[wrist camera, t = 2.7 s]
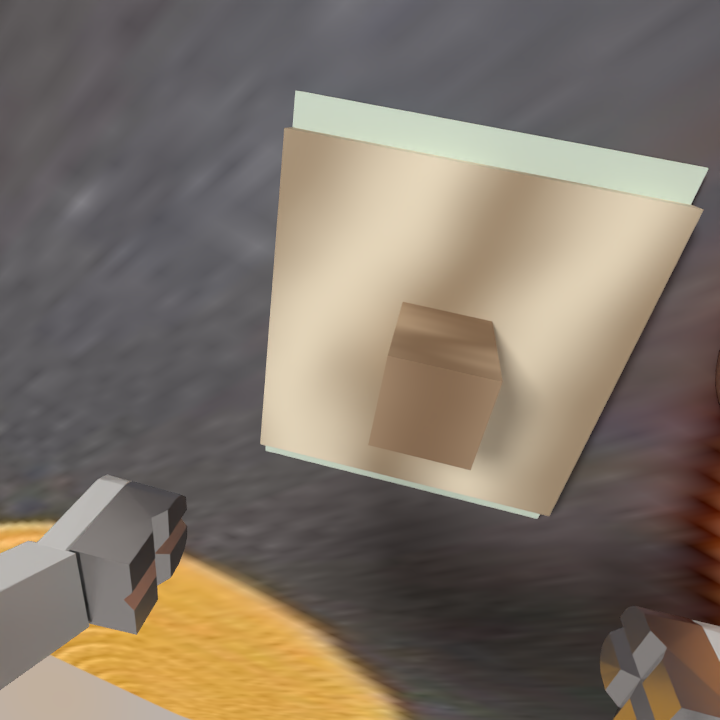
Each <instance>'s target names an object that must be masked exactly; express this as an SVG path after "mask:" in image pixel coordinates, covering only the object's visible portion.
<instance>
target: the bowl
mask: <svg viewBox="0 0 720 720" xmlns="http://www.w3.org/2000/svg"><path fill="white" fill-rule="evenodd" d="M716 390H717V396H718V402H719V404H720V351H719V356H718V361H717V366H716Z"/></svg>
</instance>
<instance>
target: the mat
mask: <svg viewBox="0 0 720 720" xmlns="http://www.w3.org/2000/svg"><path fill="white" fill-rule="evenodd" d="M293 127H294V128H299V129H304V130H309V131H314V132H320V133H325V134H330V135H335V136H340V137H345V138H350V139H356V140H361V141H366V142H371V143H376V144H381V145H386V146H392V147H397V148H402V149H407V150H412V151H417V152H422V153H428V154H433V155H438V156H443V157H448V158H453V159H458V160H464V161H469V162H474V163H479V164H484V165H489V166H494V167H500V168H505V169H510V170H515V171H520V172H525V173H530V174H536V175H541V176H546V177H551V178H556V179H561V180H566V181H572V182H577V183H582V184H587V185H592V186H597V187H603V188H608V189H613V190H618V191H623V192H628V193H633V194H639V195H644V196H649V197H654V198H659V199H664V200H669V201H675V202H680V203H685V204H690V205H691V204H692V202H693V199H694V197H695V195H696V193H697V191H698V189H699V187H700V185H701V183H702V181H703V179H704V177H705V175H706V173H707V171H708V169H709V168H706V167H701V166H696V165H690V164H685V163H680V162H675V161H669V160H664V159H659V158H653V157H648V156H643V155H637V154H632V153H627V152H621V151H616V150H611V149H605V148H600V147H595V146H589V145H584V144H579V143H573V142H568V141H563V140H557V139H552V138H547V137H541V136H536V135H531V134H525V133H520V132H515V131H510V130H504V129H499V128H494V127H488V126H483V125H478V124H472V123H467V122H462V121H456V120H451V119H446V118H440V117H435V116H430V115H424V114H419V113H414V112H408V111H403V110H398V109H392V108H387V107H382V106H376V105H371V104H366V103H360V102H355V101H350V100H344V99H339V98H334V97H329V96H323V95H318V94H313V93H307V92H302V91H296V93H295V104H294V116H293ZM266 451H269V452H273V453H277V454H281V455H285V456H289V457H293V458H297V459H301V460H305V461H309V462H313V463H317V464H321V465H325V466H329V467H333V468H337V469H341V470H345V471H349V472H353V473H357V474H361V475H365V476H369V477H373V478H377V479H381V480H385V481H389V482H393V483H397V484H401V485H405V486H409V487H412V488H416V489H420V490H424V491H428V492H432V493H436V494H440V495H444V496H448V497H452V498H456V499H460V500H464V501H468V502H472V503H476V504H480V505H484V506H488V507H492V508H496V509H500V510H504V511H508V512H512V513H516V514H520V515H524V516H528V517H532V518H536V519H538V517H539V515H540V514H538V513H534V512H530V511H526V510H522V509H518V508H514V507H510V506H506V505H502V504H498V503H494V502H490V501H486V500H482V499H478V498H474V497H470V496H466V495H462V494H458V493H454V492H450V491H446V490H442V489H438V488H434V487H430V486H426V485H422V484H418V483H414V482H410V481H406V480H402V479H398V478H394V477H390V476H386V475H382V474H378V473H374V472H370V471H366V470H362V469H358V468H354V467H350V466H346V465H342V464H338V463H334V462H330V461H326V460H322V459H318V458H314V457H310V456H306V455H302V454H298V453H294V452H290V451H286V450H282V449H278V448H274V447H270V446H266Z"/></svg>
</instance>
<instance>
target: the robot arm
mask: <svg viewBox="0 0 720 720" xmlns="http://www.w3.org/2000/svg"><path fill="white" fill-rule="evenodd" d="M186 510H187V505H186V497H185V496H183V495H180V494H177V493H173V492H170V491H166V490H162V489H159V488H155V487H151V486H148V485H144V484H141V483H137V482H133V481H129V480H125V479H121V478H117V477H114V476H110V475H106V476H104V477H102V478H100V479H98V480H97V481H96V482H95V483H94V484H93V485H92V486H91V487H90V488H89V489H88V490H87V491H86V492H85V493H84V494H83V495H82V496H81V497H80V498H79V499H78V500H77V501H76V502H75V504H74V505H73V506H72V507H71V508H70V509H69V510H68V511H67V512H66V513H65V514H64V515H63V516H62V517H61V518H60V519H59V520H58V521H57V522H56V523H55V524H54V525H53V526H52V527H51V529H50V530H49V531H48V532H47V533H46V534H45V535H44V536H43V537H42V538H41V539H40V540H39V541H38V542H37V543H36V542H32V541H27V542H25V543H23V544H20V545H18V546H16V547H14V548H11V549H9V550H7V551H5V552H2V553H0V690H1V689H2V688H4V687H5V686H6V685H8V684H9V683H11V682H12V681H14V680H15V679H16V678H18V677H19V676H21V675H22V674H23V673H25V672H26V671H27V670H29V669H30V668H32V667H33V666H35V665H36V664H37V663H39V662H40V661H42V660H43V659H44V658H46V657H47V656H49V655H50V654H51V653H53V652H54V651H56V650H57V649H58V648H60V647H61V646H63V645H64V644H65V643H67V642H68V641H70V640H71V639H72V638H74V637H75V636H77V635H78V634H80V633H81V632H82V631H84V630H85V629H87V628H88V627H89V623H90V624H94V625H98V626H102V627H107V628H111V629H115V630H119V631H124V632H128V633H132V634H136V635H137V633H138V632H139V630H140V628H141V627H142V625H143V623H144V622H145V620H146V618H147V617H148V615H149V613H150V612H151V610H152V608H153V607H154V605H155V603H156V602H157V600H158V594H157V585H159V584H161V583H162V582H164V581H166V580H168V579H169V578H171V576H172V575H173V573H174V571H175V569H176V568H177V566H178V564H179V562H180V559H181V557H182V554H183V551H184V549H185V545H186V539H187V526H186V524H185V523H184V522H183V520H182V519H181V518H182V516H183V515H184V513H185V512H186ZM620 619H621V622H622V625H623V627H622V628H620V629H617V630H615V631H612V632H610V633H609V634H608V635H607V637H606V639H605V640H604V642H603V644H602V648H601V655H600V669H601V676H602V680H603V684H604V688H605V691H606V692H607V693H608V694H609V696H610V697H611V698H612V699H613V701H614V702H615V703H616V705H617V706H618V709H617V711H616V714H615V716H614V719H613V720H720V626H716V625H712V624H708V623H704V622H700V621H695V620H691V619H689V618H685V617H681V616H676V615H672V614H668V613H663V612H659V611H655V610H651V609H646V608H642V607H638V606H632V607H629V608H627V609H626V610H625V611H624V612H623V614H622V615H621V617H620Z"/></svg>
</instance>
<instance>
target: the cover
mask: <svg viewBox="0 0 720 720" xmlns="http://www.w3.org/2000/svg"><path fill="white" fill-rule="evenodd" d="M702 212H703V209H701V208H698V207H696V206H693V205H690V204H685V203H680V202H675V201H669V200H664V199H659V198H654V197H649V196H644V195H639V194H633V193H628V192H623V191H618V190H613V189H608V188H603V187H597V186H592V185H587V184H582V183H577V182H572V181H566V180H561V179H556V178H551V177H546V176H541V175H536V174H530V173H525V172H520V171H515V170H510V169H505V168H500V167H494V166H489V165H484V164H479V163H474V162H469V161H464V160H458V159H453V158H448V157H443V156H438V155H433V154H428V153H422V152H417V151H412V150H407V149H402V148H397V147H392V146H386V145H381V144H376V143H371V142H366V141H361V140H356V139H350V138H345V137H340V136H335V135H330V134H325V133H320V132H314V131H309V130H304V129H299V128H294V127H290V128H284V140H283V153H282V167H281V180H280V193H279V206H278V219H277V232H276V245H275V258H274V272H273V285H272V298H271V311H270V324H269V337H268V350H267V364H266V377H265V390H264V403H263V416H262V429H261V442H260V444H262V445H266V446H270V447H274V448H278V449H282V450H286V451H290V452H294V453H298V454H302V455H306V456H310V457H314V458H318V459H322V460H326V461H330V462H334V463H338V464H342V465H346V466H350V467H354V468H358V469H362V470H366V471H370V472H374V473H378V474H382V475H386V476H390V477H394V478H398V479H402V480H406V481H410V482H414V483H418V484H422V485H426V486H430V487H434V488H438V489H442V490H446V491H450V492H454V493H458V494H462V495H466V496H470V497H474V498H478V499H482V500H486V501H490V502H494V503H498V504H502V505H506V506H510V507H514V508H518V509H522V510H526V511H530V512H534V513H538V514H542V515H546V516H550V514H551V512H552V510H553V508H554V506H555V504H556V502H557V500H558V498H559V496H560V494H561V492H562V490H563V488H564V486H565V484H566V482H567V480H568V478H569V476H570V474H571V472H572V470H573V468H574V466H575V464H576V462H577V460H578V458H579V456H580V454H581V452H582V450H583V448H584V446H585V444H586V442H587V440H588V438H589V436H590V434H591V432H592V430H593V428H594V426H595V424H596V422H597V420H598V418H599V416H600V414H601V412H602V410H603V408H604V406H605V404H606V403H607V401H608V399H609V397H610V395H611V393H612V391H613V389H614V387H615V385H616V383H617V381H618V379H619V377H620V375H621V373H622V371H623V369H624V367H625V365H626V363H627V361H628V359H629V357H630V355H631V353H632V351H633V349H634V347H635V345H636V343H637V341H638V339H639V337H640V335H641V333H642V331H643V329H644V327H645V325H646V323H647V321H648V319H649V317H650V315H651V313H652V311H653V309H654V307H655V305H656V303H657V301H658V299H659V297H660V295H661V293H662V291H663V289H664V287H665V285H666V283H667V281H668V279H669V277H670V275H671V273H672V271H673V269H674V267H675V265H676V263H677V261H678V259H679V257H680V255H681V253H682V251H683V249H684V248H685V246H686V244H687V242H688V240H689V238H690V236H691V234H692V232H693V230H694V228H695V226H696V224H697V222H698V220H699V218H700V216H701V214H702Z"/></svg>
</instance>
